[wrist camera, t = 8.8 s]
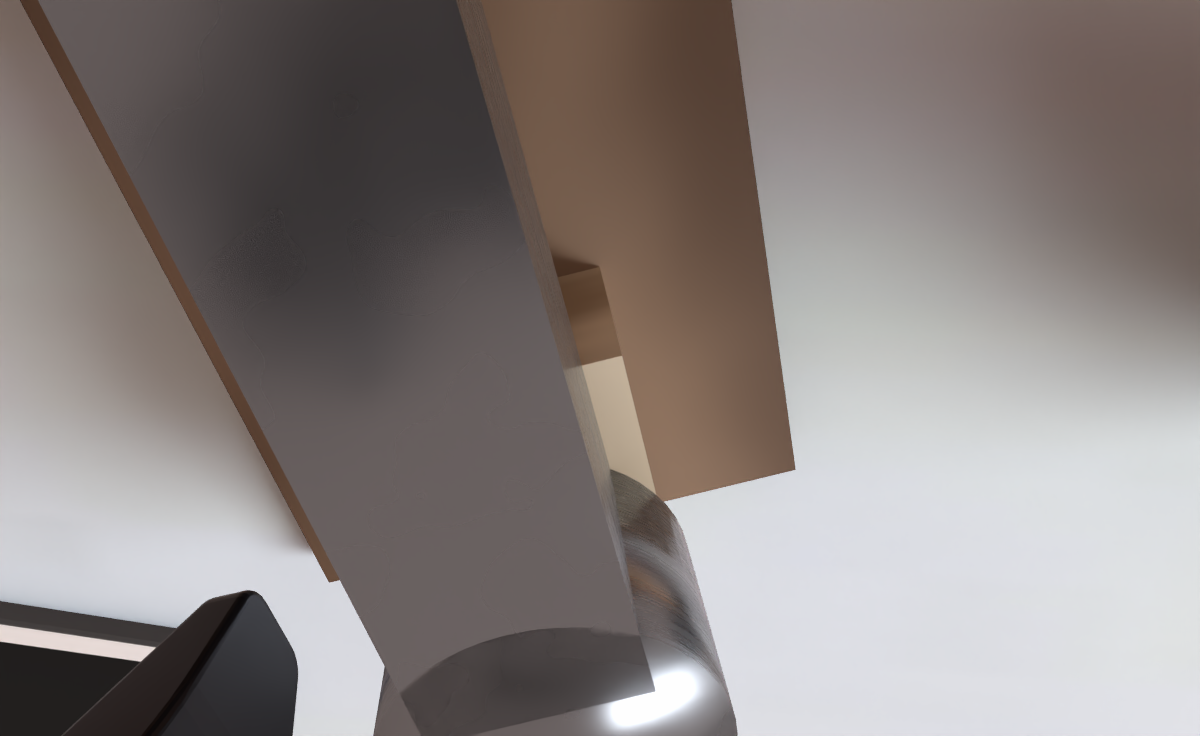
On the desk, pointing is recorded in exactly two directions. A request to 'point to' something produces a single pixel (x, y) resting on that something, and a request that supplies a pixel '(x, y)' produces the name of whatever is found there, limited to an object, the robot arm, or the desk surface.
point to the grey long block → (407, 352)
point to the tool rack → (616, 233)
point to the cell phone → (63, 664)
